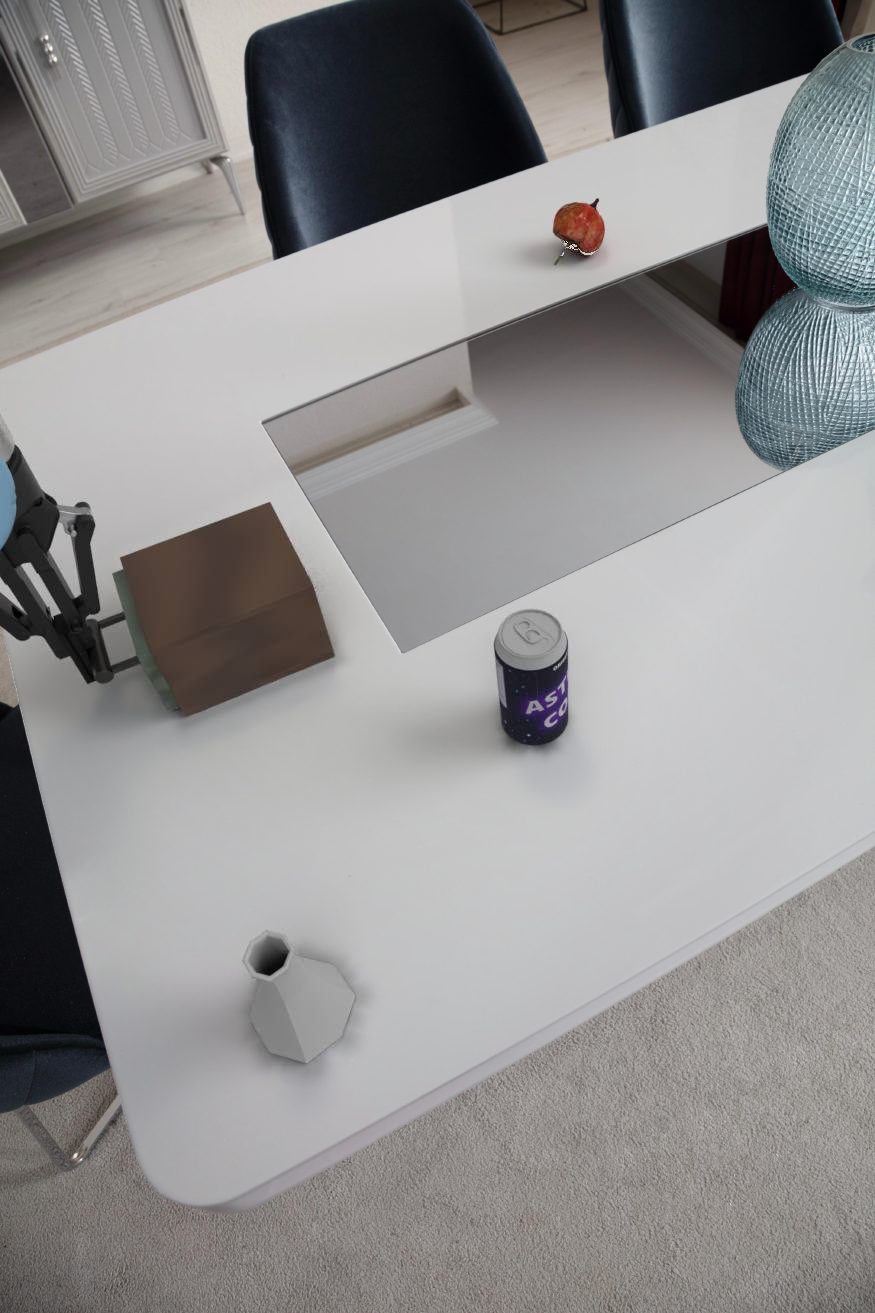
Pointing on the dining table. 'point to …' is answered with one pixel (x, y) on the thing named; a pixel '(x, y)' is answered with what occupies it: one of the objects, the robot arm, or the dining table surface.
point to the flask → (295, 999)
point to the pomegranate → (579, 227)
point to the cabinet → (227, 608)
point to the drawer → (100, 655)
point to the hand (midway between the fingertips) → (91, 671)
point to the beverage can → (532, 676)
